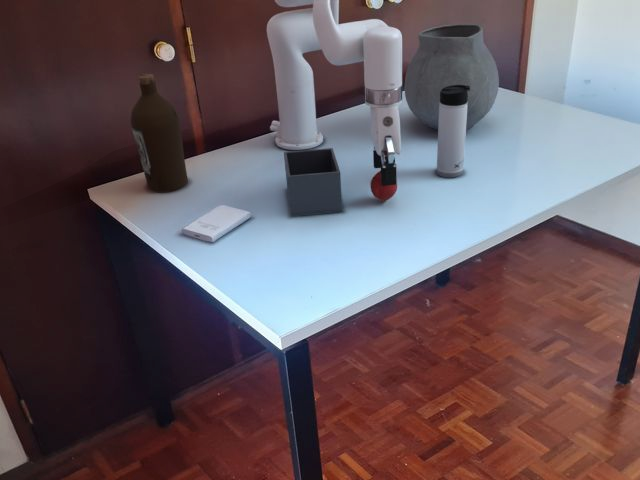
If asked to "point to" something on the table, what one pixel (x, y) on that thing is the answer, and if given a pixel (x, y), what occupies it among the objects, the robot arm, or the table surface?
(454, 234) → the table surface
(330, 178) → the grey drawer with handle
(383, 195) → the onion
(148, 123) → the olive oil
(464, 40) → the ceramic pot
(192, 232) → the hard drive
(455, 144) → the travel mug
